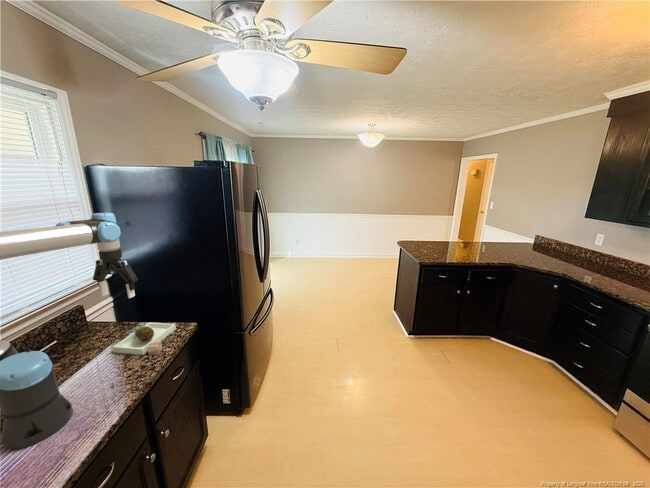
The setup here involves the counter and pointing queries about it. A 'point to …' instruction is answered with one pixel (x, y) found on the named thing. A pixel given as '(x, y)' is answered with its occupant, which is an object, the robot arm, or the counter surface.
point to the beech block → (154, 348)
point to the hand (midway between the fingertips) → (118, 296)
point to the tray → (140, 348)
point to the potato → (144, 333)
